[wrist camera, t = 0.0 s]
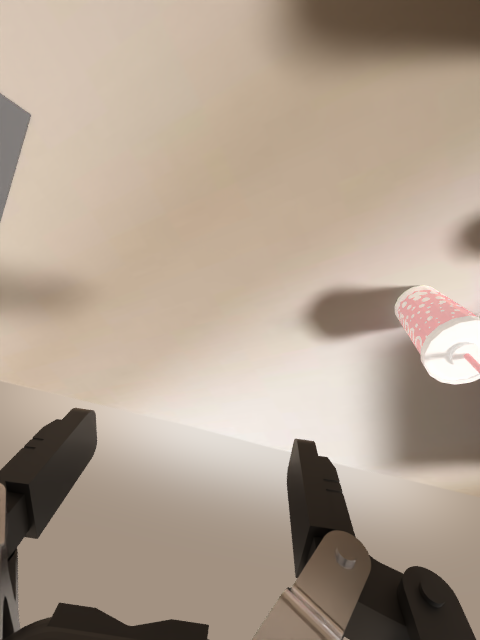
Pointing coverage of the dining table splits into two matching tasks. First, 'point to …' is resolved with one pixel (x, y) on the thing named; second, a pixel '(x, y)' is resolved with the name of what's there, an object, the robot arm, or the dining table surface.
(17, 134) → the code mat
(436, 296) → the beverage cup
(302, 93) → the dining table surface
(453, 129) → the dining table surface
